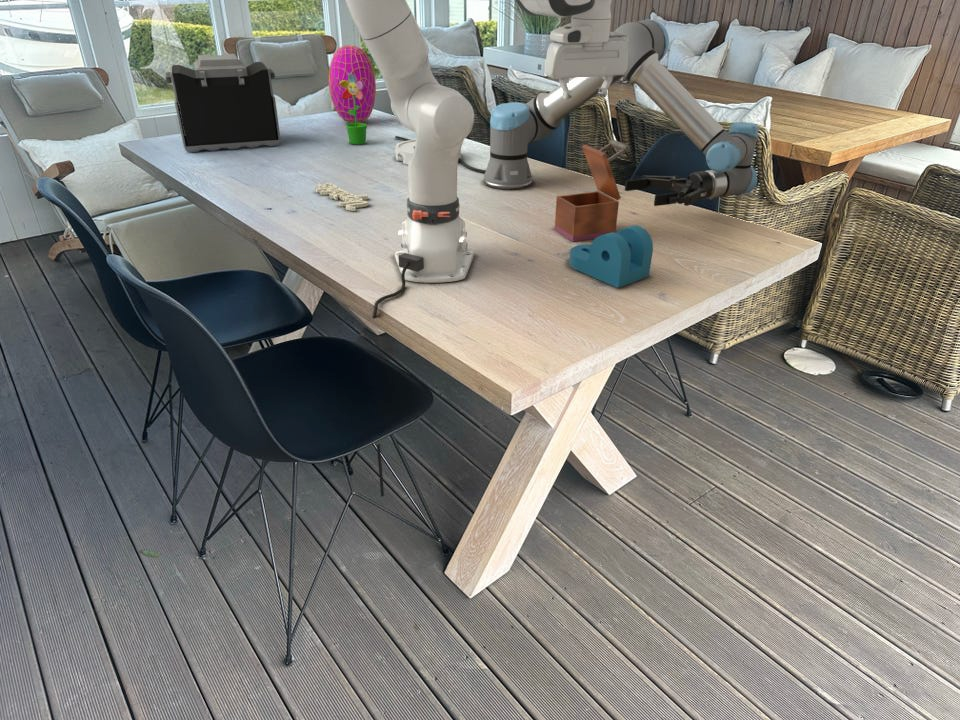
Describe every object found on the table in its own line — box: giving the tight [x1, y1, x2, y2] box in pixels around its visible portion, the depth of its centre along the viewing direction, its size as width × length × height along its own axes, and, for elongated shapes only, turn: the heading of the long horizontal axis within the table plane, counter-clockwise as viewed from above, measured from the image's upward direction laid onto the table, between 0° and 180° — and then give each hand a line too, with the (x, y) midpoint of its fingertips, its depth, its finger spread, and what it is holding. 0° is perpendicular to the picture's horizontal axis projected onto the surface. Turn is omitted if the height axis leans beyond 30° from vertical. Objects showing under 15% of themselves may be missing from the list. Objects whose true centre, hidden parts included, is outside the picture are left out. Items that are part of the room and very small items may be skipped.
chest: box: [554, 190, 620, 242], centre depth 178 cm, size 13×10×9 cm
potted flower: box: [339, 73, 368, 145], centre depth 255 cm, size 9×8×25 cm
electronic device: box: [164, 53, 282, 153], centre depth 252 cm, size 37×22×30 cm, turn 111°
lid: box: [581, 138, 631, 201], centre depth 174 cm, size 13×10×8 cm
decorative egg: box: [328, 44, 377, 124], centre depth 286 cm, size 19×19×30 cm
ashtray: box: [394, 138, 462, 165], centre depth 243 cm, size 23×23×4 cm
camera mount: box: [568, 224, 654, 289], centre depth 156 cm, size 18×10×10 cm, turn 39°
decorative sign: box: [315, 182, 369, 212], centre depth 203 cm, size 26×1×10 cm
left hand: (584, 97), depth 162 cm, fingers open, 8 cm apart
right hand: (640, 192), depth 181 cm, fingers open, 13 cm apart
